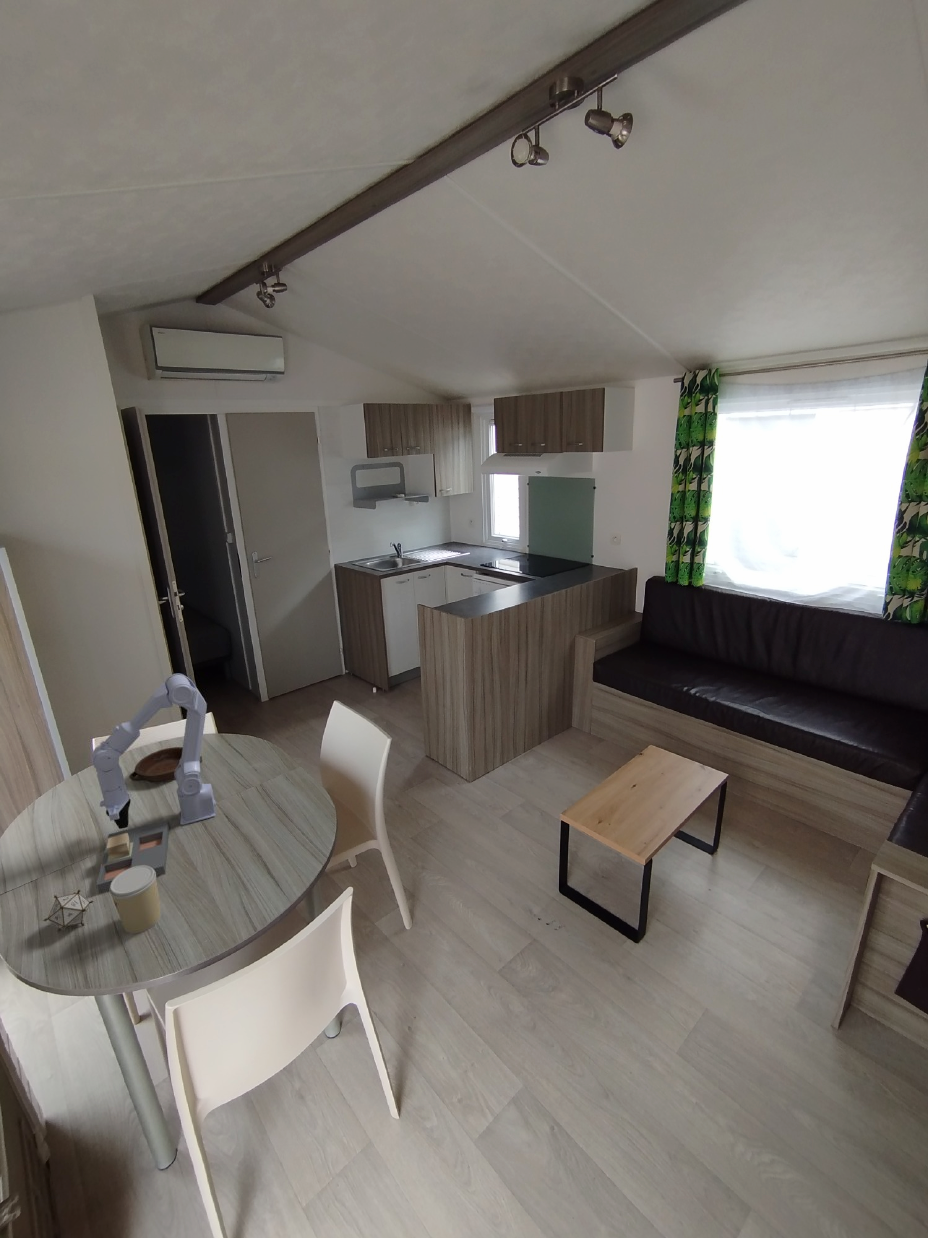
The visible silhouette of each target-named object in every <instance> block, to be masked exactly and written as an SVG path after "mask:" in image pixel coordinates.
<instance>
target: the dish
mask: <svg viewBox="0 0 928 1238" xmlns="http://www.w3.org/2000/svg"><path fill="white" fill-rule="evenodd" d="M182 750H183V746H180V747H179V746H175V747H167V748H163V749H159V750H156V751H155V752H152V753H150V754H147V756H144V757H143V758H141V760H139V762H137V764H136V765H135V766H134V771H133V772H132V773H131V774H130V775H129V778H130V780H131V781H133V782H139V781H146V782H147V783H150V784H157V783H160V784H161V783H164V782H165V783H166V782H168V781H172V780H176V778H175V776H174V772H175V770H176V768H177V767H178V765H179V761H180V759H181V757H182ZM202 762H203V757H202V756H201V755H200V764H202Z"/></svg>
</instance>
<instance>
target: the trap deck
mask: <svg viewBox="0 0 928 1238" xmlns="http://www.w3.org/2000/svg"><path fill="white" fill-rule="evenodd" d="M125 833H128V836H129V840H130V844H131V848H130V855H129V856H125V857H122V858H119V859H115V860H112V861H110V858H109V855H108V851H107V844H108V838H111V837H114V836H118V835H122V834H125ZM169 836H170V823H169V818H167V819H163V820H159V821H155V822H151V823H147V824H144V825H143V824H142V825H139V826H136V827H131V828H128V829H124V830H120V831H116V832H113V833H109V834H108V836H107V840H106V845H105V848H104V849H105V850H104V853H103V857H102V862H101V865H100V869H99V873H98V878H97V882H96V887H97V888H96V889H97V891H98V893H99V894H100V893H105V892H107V891H109V889H110V885H111V883H112V881H113V880H114V878H115V877H116V876H117V875H119V874H120V873H122V872H123V871H125V870H127V869H129V868H132V867H135V866H141V865H145V866H149V867H151V868H152V869H154V870H155V872H156V877H159V876H162V875H165V874H166V872H167V870H166V869H167V861H168V847H169V838H170V837H169Z"/></svg>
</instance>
